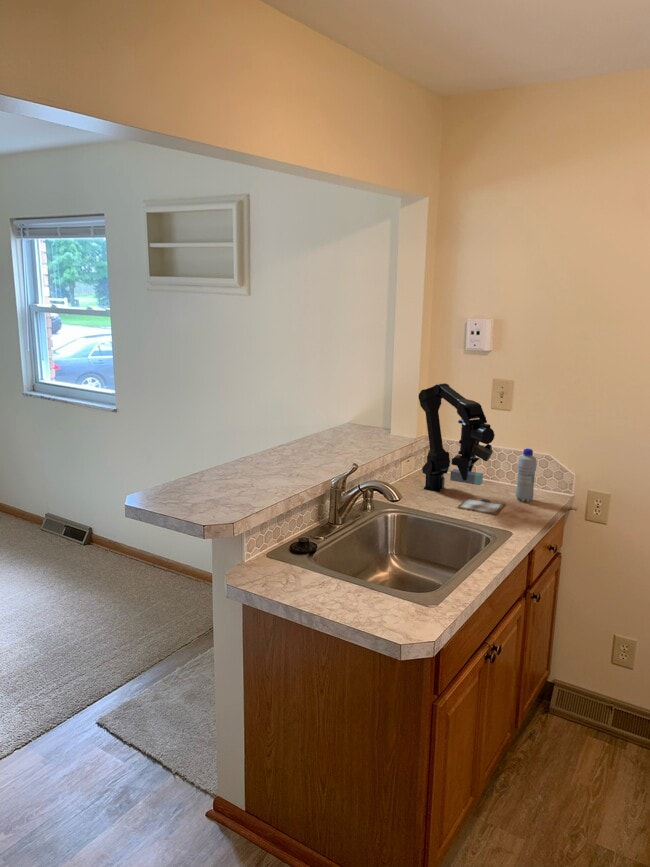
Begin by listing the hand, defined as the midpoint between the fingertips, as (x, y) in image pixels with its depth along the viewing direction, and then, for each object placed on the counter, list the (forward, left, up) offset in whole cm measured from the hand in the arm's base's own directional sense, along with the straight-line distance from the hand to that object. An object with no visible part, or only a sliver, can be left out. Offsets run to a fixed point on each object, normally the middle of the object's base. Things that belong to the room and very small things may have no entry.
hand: (466, 478), depth 243 cm
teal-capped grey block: (0, 0, -1) cm, 1 cm away
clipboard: (+6, 0, -10) cm, 11 cm away
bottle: (+18, +15, -10) cm, 26 cm away
